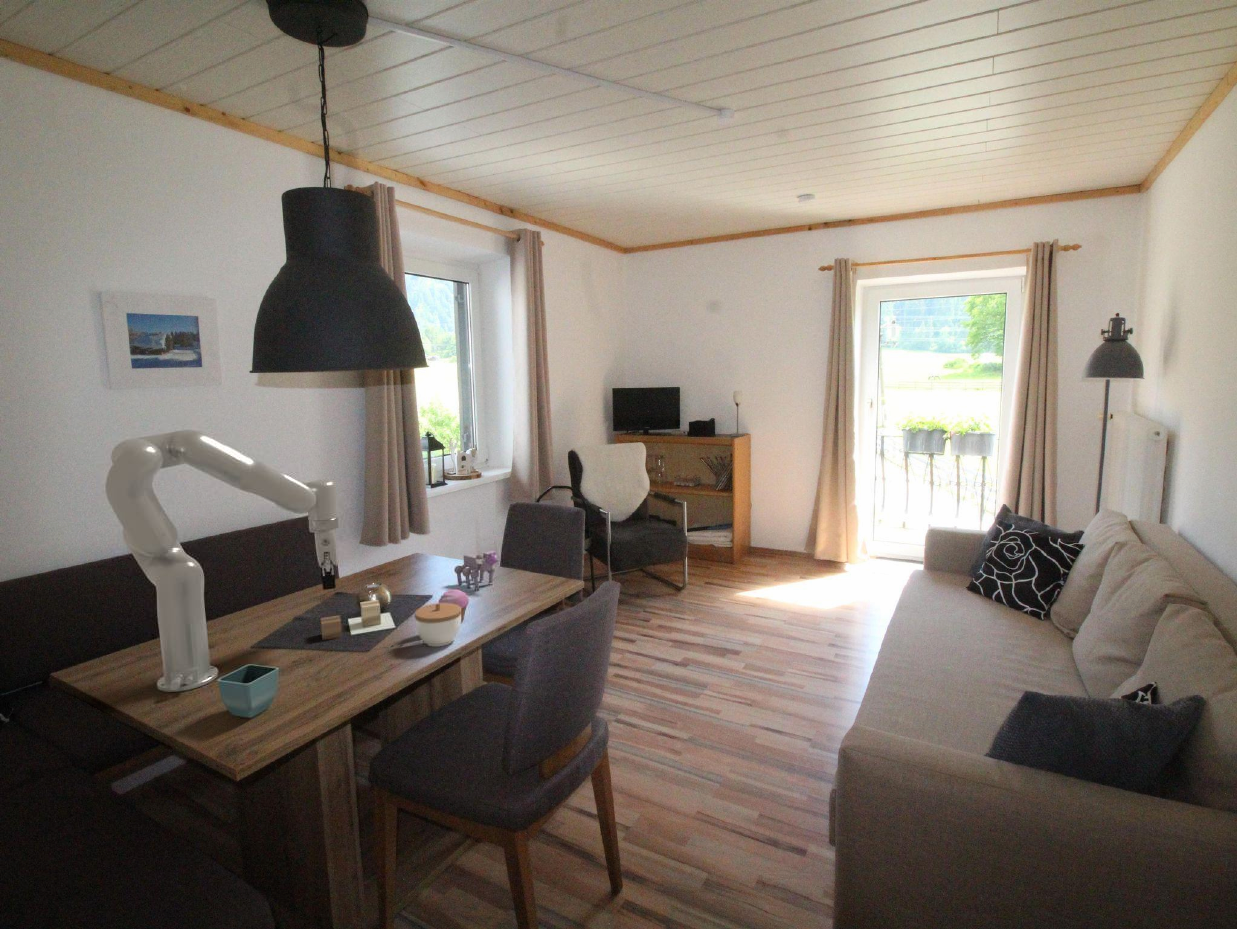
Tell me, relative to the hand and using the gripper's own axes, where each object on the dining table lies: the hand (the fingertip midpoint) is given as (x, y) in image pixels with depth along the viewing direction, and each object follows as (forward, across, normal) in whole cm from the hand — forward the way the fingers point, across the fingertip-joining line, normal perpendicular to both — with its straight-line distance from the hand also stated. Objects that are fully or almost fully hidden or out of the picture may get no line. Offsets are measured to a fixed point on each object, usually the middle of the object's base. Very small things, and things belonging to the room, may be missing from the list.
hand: (328, 584), depth 184 cm
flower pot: (+16, -37, +18) cm, 44 cm away
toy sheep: (+17, +28, -50) cm, 60 cm away
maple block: (+15, +5, -11) cm, 19 cm away
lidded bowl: (+17, -16, -27) cm, 35 cm away
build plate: (+16, +5, -11) cm, 20 cm away
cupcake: (+17, -3, -34) cm, 38 cm away
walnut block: (+16, 0, 0) cm, 16 cm away
